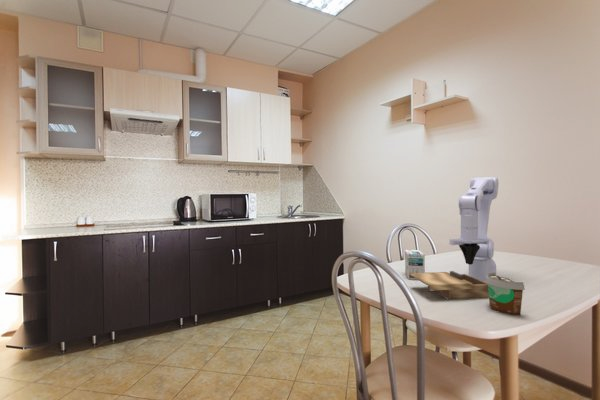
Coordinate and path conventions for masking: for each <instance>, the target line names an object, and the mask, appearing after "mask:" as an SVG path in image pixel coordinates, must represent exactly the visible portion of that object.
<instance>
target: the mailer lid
mask: <svg viewBox="0 0 600 400" xmlns="http://www.w3.org/2000/svg"><path fill="white" fill-rule="evenodd" d="M409 278H416V279H417V280H418V281H419V282H421V283H422V284H424V285H426V286H427V287H428V286H430V288H429V291H430V292H431V291H434V290H456V289H473V283H470V282H468V281H466V280H464V279H463V275H461V273H458V272H456V271H454V270H450V271H449V272H447V271H434V272H433V271H431V272H425V273H409ZM416 279H415V280H416ZM417 280H416V281H417Z"/></svg>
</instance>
